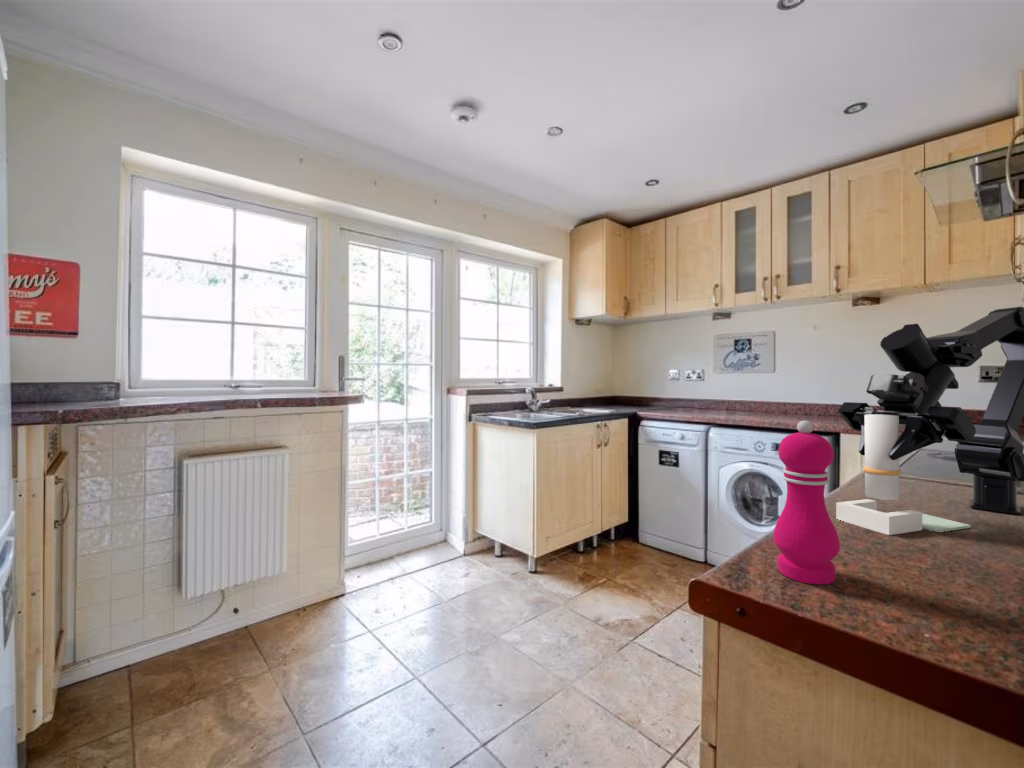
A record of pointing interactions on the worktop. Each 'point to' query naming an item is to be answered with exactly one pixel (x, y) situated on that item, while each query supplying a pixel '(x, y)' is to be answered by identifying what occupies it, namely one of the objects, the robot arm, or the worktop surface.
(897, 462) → the white banded cylinder
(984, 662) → the worktop surface
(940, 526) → the sage mat
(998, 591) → the worktop surface
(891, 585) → the worktop surface
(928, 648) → the worktop surface
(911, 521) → the clip bracket
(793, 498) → the pepper mill
